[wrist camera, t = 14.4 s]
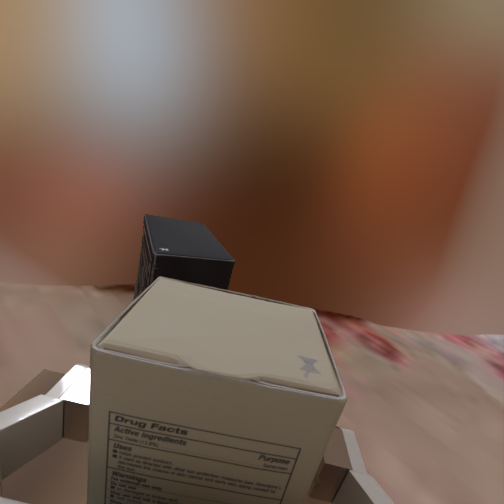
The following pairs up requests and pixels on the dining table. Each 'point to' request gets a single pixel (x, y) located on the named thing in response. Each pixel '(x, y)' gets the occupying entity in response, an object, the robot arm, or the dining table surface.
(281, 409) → the skincare box
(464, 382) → the dining table surface
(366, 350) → the dining table surface
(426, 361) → the dining table surface
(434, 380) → the dining table surface
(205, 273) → the small box
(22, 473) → the wooden board with frame
